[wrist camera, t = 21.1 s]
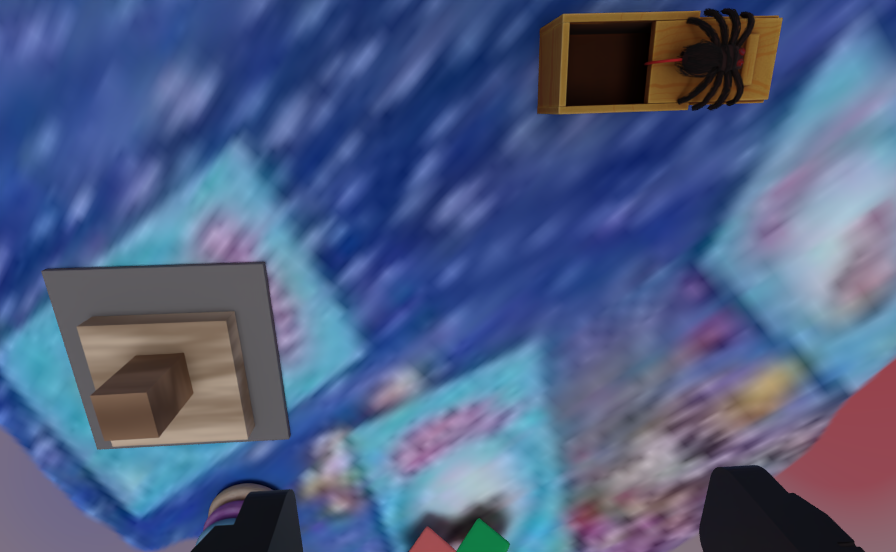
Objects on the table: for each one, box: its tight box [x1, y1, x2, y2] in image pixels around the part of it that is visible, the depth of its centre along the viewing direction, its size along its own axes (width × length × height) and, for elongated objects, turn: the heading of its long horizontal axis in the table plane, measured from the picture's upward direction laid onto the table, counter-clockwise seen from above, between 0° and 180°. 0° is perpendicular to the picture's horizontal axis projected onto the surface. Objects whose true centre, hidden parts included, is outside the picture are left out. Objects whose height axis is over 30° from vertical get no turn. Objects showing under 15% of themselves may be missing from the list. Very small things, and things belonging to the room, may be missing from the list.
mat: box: [41, 262, 290, 450], centre depth 43 cm, size 18×18×1 cm
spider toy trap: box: [537, 8, 783, 114], centre depth 33 cm, size 6×15×9 cm, turn 92°
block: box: [90, 353, 193, 441], centre depth 38 cm, size 4×4×6 cm
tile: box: [77, 311, 255, 447], centre depth 42 cm, size 2×12×12 cm
